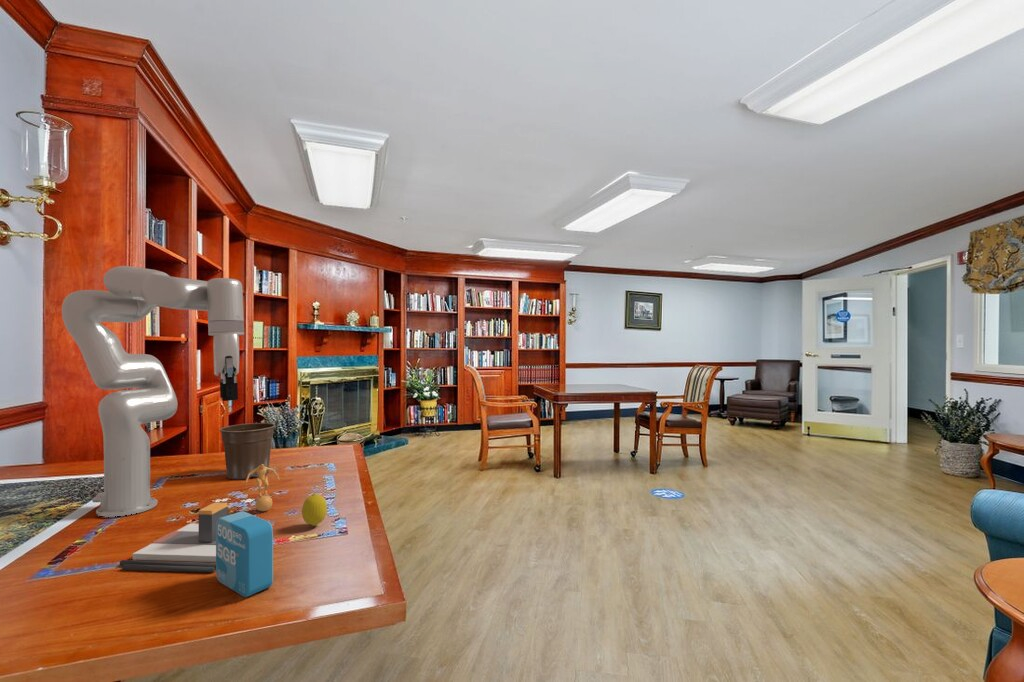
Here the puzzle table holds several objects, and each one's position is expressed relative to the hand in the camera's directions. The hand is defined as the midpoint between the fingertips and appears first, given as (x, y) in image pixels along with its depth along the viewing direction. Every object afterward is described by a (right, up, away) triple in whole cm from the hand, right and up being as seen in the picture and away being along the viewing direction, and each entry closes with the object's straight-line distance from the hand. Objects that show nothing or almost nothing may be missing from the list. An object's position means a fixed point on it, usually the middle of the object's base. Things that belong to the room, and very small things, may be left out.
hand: (229, 398), depth 116 cm
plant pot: (-18, -31, +42) cm, 55 cm away
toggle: (+4, -29, -12) cm, 32 cm away
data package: (+20, -31, -29) cm, 47 cm away
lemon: (+22, -31, -2) cm, 38 cm away
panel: (+2, -31, -12) cm, 33 cm away
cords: (+2, -31, -22) cm, 38 cm away
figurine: (+4, -31, +9) cm, 32 cm away
